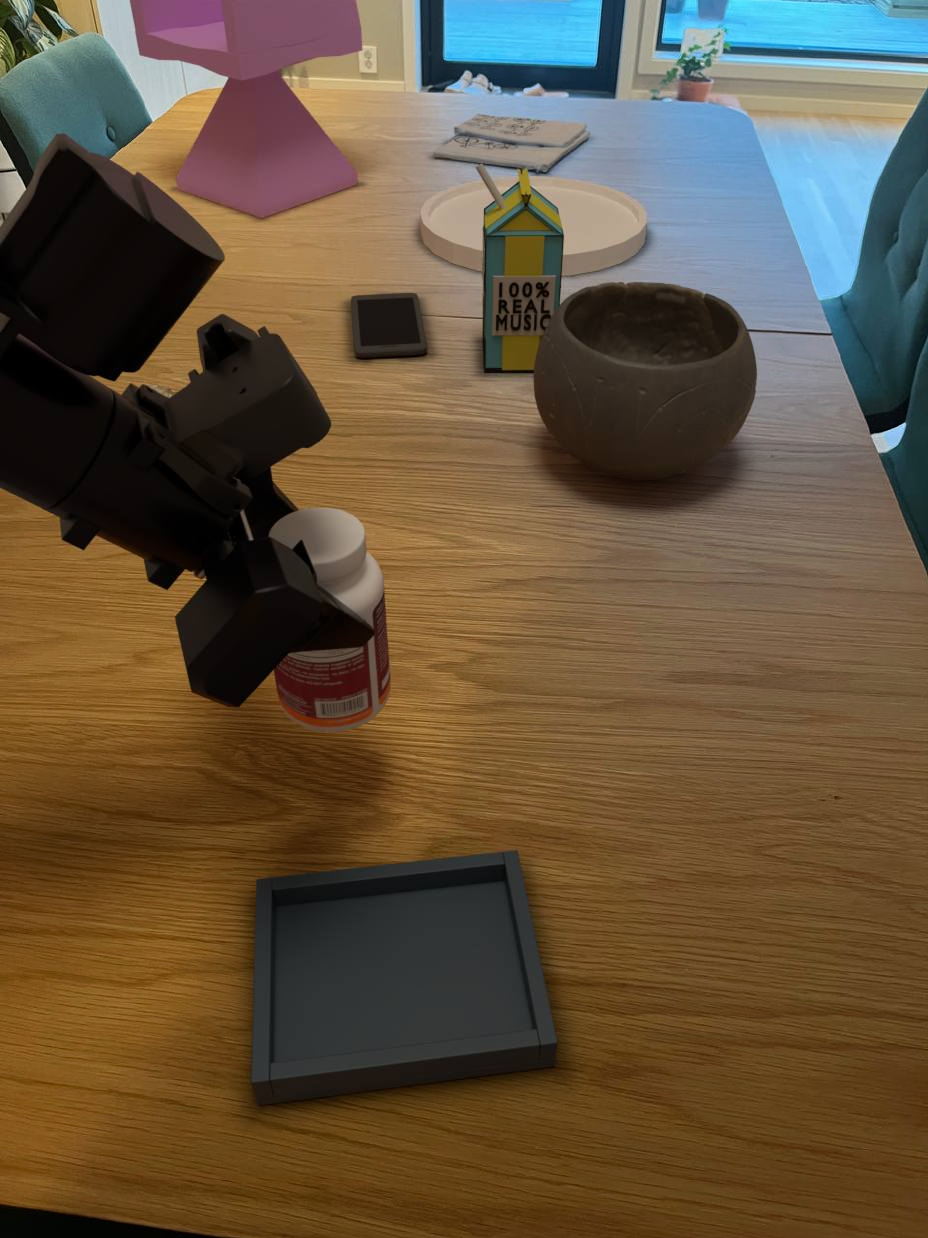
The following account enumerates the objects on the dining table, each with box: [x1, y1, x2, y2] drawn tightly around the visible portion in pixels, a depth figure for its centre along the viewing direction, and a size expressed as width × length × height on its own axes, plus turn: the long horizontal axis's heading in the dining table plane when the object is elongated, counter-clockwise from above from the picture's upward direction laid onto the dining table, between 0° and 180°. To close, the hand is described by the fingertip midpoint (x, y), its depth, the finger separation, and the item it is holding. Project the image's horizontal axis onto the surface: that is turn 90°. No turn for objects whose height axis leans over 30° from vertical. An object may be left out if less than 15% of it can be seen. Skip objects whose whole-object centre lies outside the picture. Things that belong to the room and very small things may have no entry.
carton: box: [475, 163, 564, 374], centre depth 96 cm, size 7×8×18 cm
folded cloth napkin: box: [433, 113, 591, 173], centre depth 153 cm, size 19×20×2 cm
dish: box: [250, 849, 558, 1106], centre depth 50 cm, size 14×11×2 cm
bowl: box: [533, 281, 758, 481], centre depth 83 cm, size 18×18×13 cm
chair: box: [129, 0, 363, 219], centre depth 131 cm, size 20×20×30 cm
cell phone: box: [350, 292, 428, 359], centre depth 106 cm, size 7×14×1 cm, turn 7°
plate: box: [419, 175, 648, 277], centre depth 126 cm, size 28×28×2 cm
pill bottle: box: [268, 507, 392, 733], centre depth 52 cm, size 6×6×11 cm
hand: (351, 598), depth 52 cm, fingers closed on pill bottle, 6 cm apart
